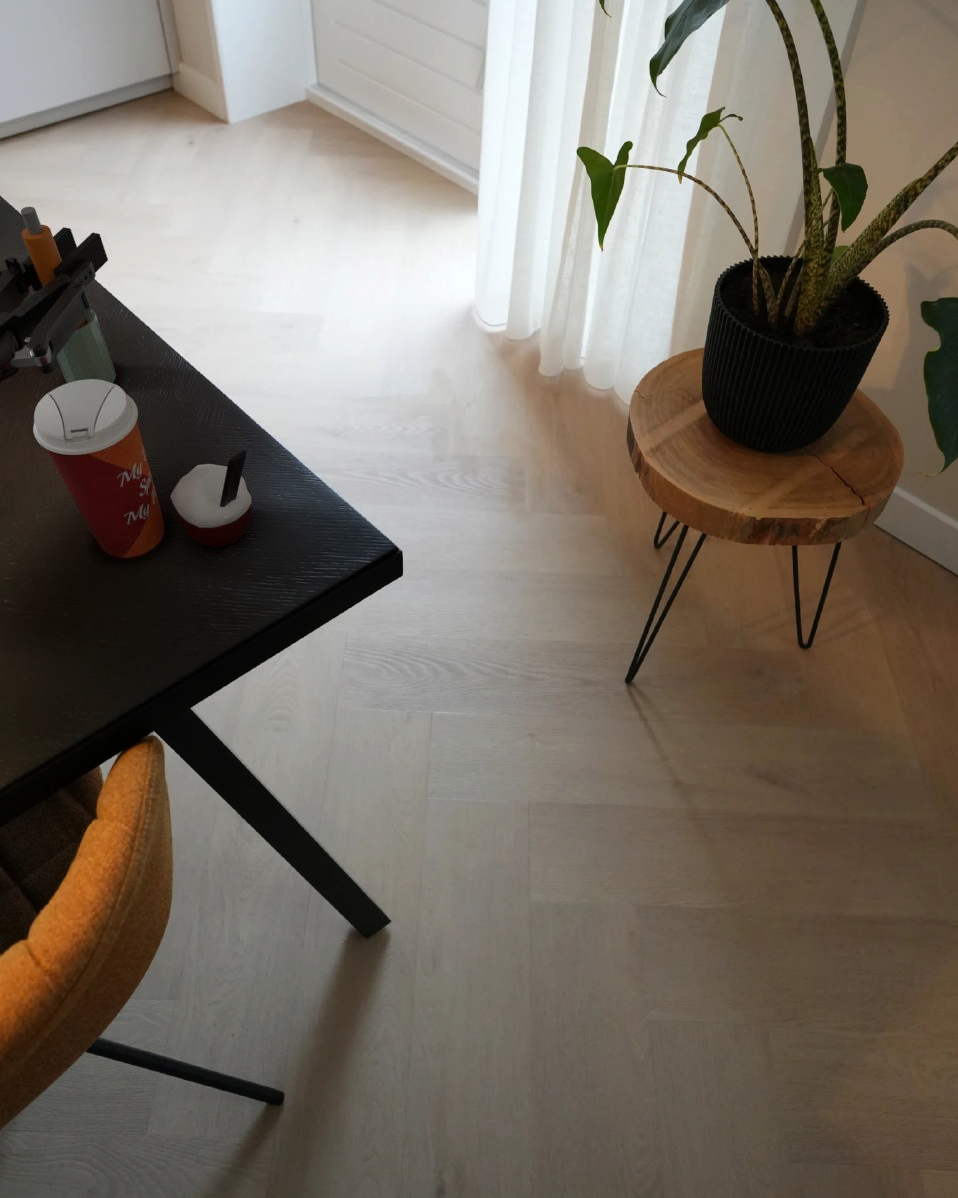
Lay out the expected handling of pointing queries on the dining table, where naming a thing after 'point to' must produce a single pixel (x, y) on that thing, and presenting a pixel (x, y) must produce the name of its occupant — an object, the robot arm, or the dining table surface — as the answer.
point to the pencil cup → (86, 354)
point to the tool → (41, 247)
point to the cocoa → (214, 502)
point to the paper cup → (102, 463)
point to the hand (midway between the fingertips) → (85, 243)
